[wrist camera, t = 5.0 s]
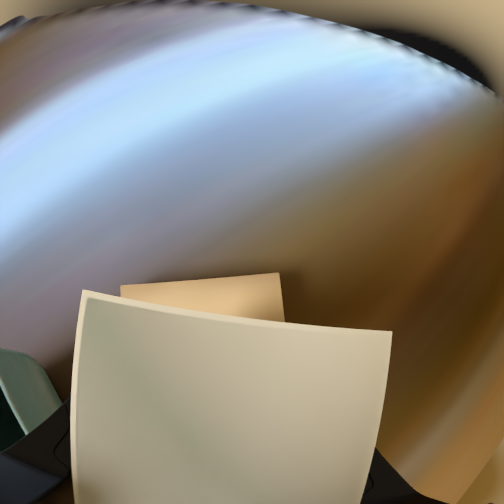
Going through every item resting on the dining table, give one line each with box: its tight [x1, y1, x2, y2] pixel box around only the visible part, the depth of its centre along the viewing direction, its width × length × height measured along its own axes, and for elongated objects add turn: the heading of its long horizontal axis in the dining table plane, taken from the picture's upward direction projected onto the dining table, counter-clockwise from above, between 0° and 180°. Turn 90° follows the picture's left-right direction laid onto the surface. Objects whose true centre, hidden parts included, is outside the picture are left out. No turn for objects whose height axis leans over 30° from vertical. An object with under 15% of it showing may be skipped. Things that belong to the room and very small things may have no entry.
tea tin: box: [70, 290, 392, 504], centre depth 10 cm, size 5×5×12 cm
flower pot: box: [0, 348, 62, 452], centre depth 15 cm, size 9×9×9 cm
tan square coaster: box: [120, 273, 285, 322], centre depth 21 cm, size 11×11×3 cm
